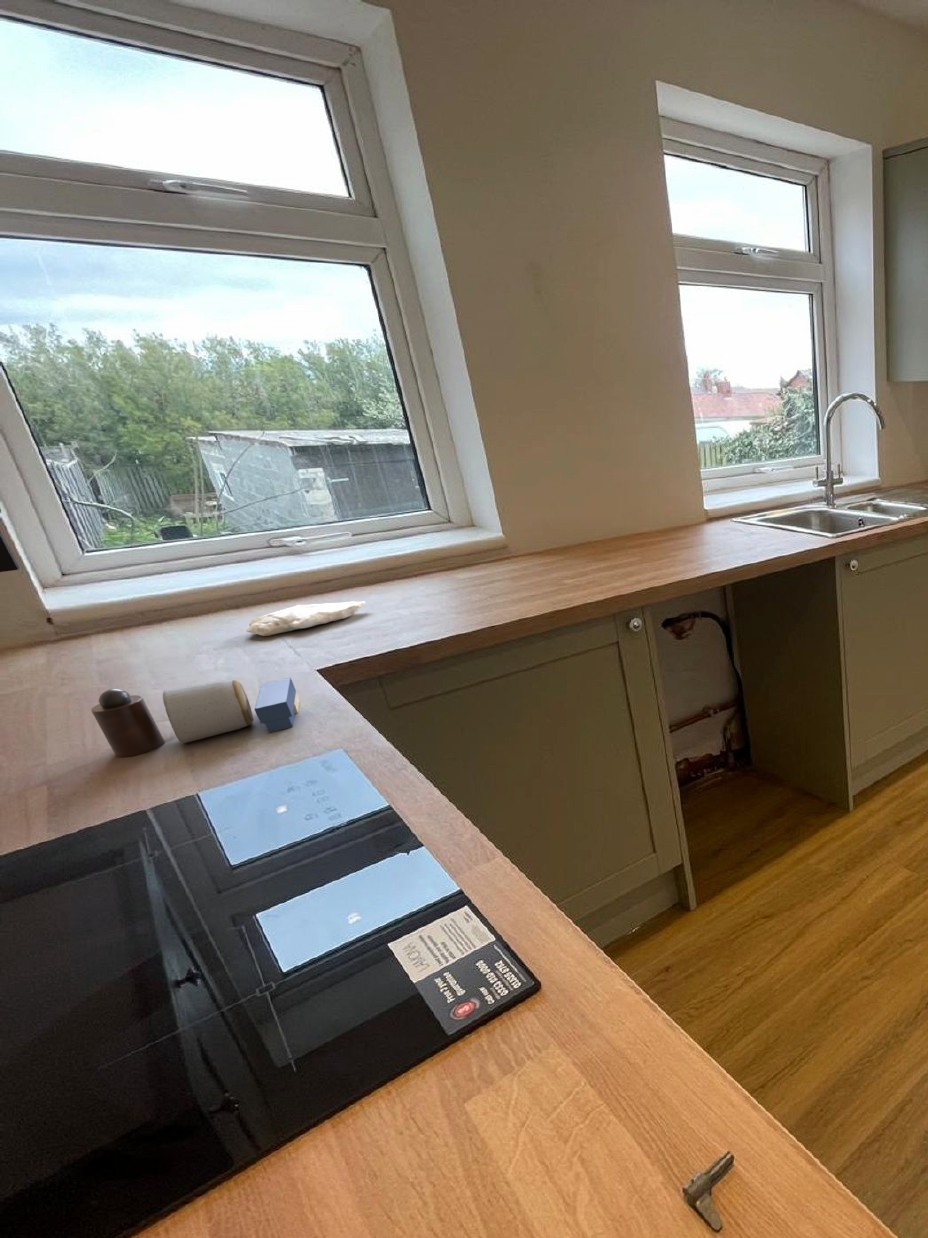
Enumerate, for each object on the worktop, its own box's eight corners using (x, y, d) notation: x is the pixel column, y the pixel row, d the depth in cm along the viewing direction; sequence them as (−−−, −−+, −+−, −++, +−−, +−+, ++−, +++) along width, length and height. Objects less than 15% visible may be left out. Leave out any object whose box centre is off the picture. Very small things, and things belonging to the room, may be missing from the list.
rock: (248, 628, 146) (364, 606, 158) (249, 645, 136) (373, 620, 148) (241, 611, 144) (359, 589, 156) (242, 627, 135) (367, 603, 147)
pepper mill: (111, 761, 97) (78, 701, 93) (120, 746, 100) (89, 688, 97) (161, 749, 99) (131, 690, 96) (167, 735, 103) (139, 678, 99)
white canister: (258, 730, 103) (236, 682, 100) (182, 751, 98) (157, 700, 95) (255, 708, 110) (235, 662, 107) (184, 726, 106) (161, 679, 103)
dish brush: (296, 726, 104) (286, 701, 102) (265, 734, 102) (254, 708, 100) (300, 700, 112) (290, 677, 111) (271, 707, 110) (261, 683, 109)
